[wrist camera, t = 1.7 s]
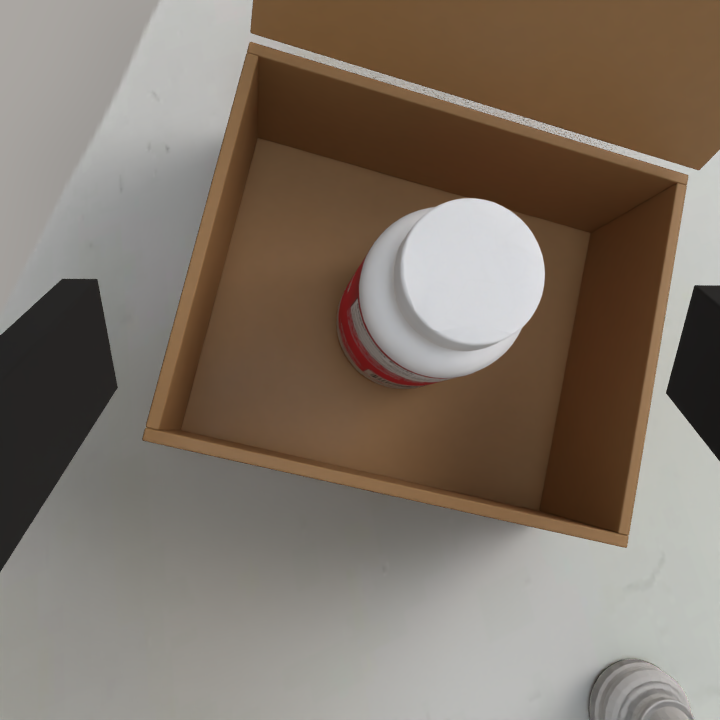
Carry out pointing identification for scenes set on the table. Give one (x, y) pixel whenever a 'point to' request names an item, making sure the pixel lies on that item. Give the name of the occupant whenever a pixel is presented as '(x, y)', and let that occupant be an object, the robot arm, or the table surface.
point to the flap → (538, 60)
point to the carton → (344, 256)
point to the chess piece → (638, 694)
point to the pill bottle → (441, 294)
